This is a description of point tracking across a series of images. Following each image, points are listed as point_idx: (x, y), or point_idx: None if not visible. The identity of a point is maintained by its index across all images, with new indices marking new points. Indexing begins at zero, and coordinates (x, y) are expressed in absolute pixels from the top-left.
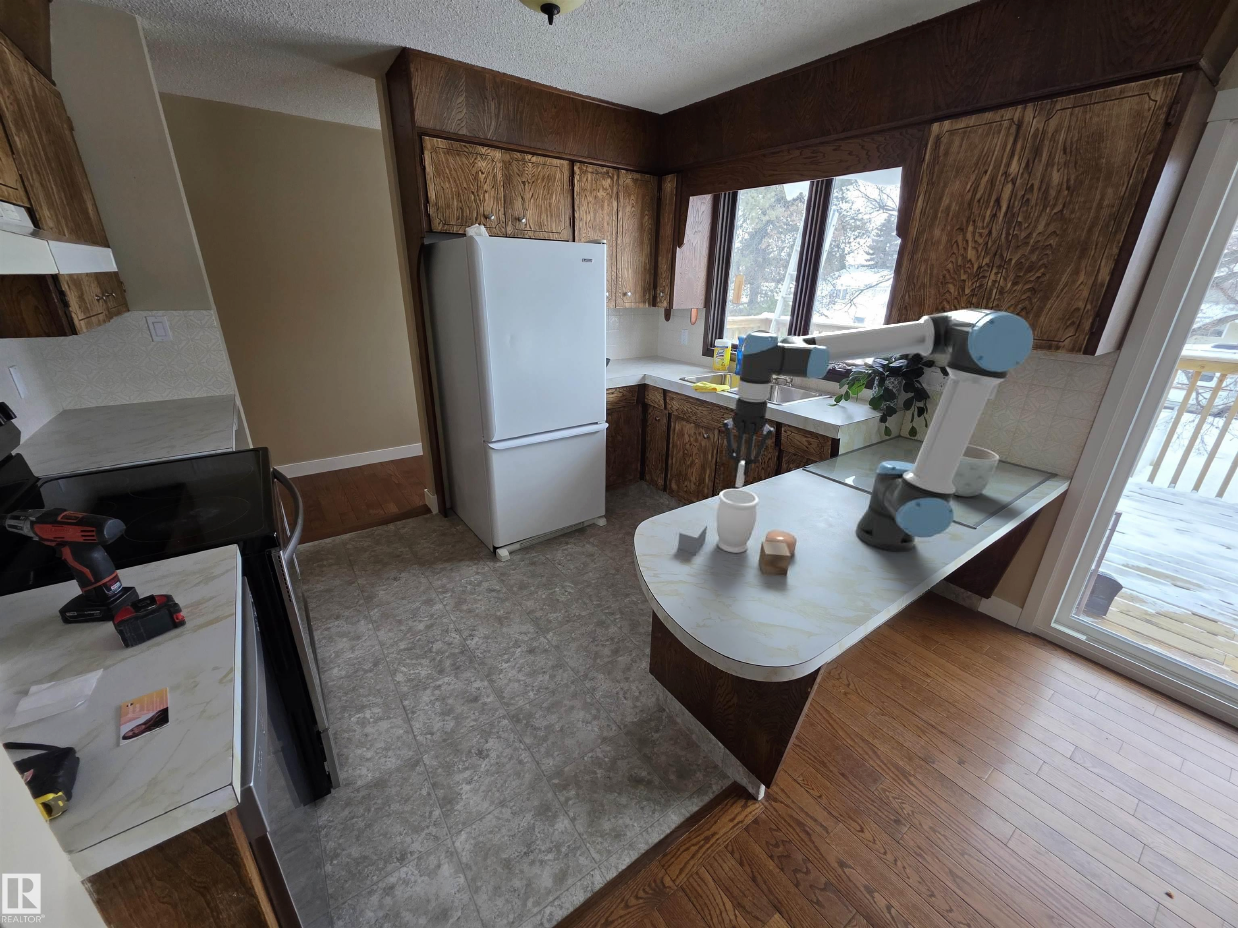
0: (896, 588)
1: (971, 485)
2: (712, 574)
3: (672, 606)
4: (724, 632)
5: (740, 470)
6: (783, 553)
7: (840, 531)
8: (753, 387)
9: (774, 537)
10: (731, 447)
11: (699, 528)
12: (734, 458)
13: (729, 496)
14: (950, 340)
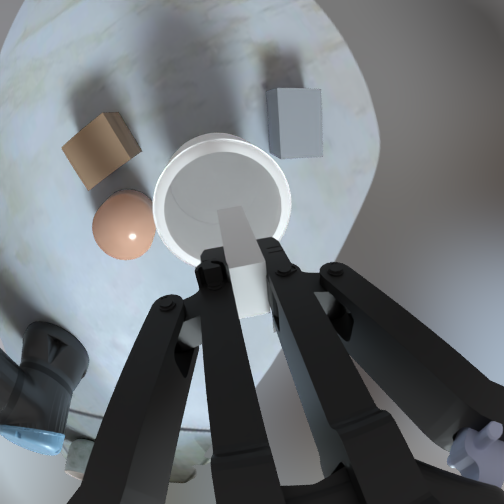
0: None
1: (73, 448)
2: (202, 43)
3: None
4: None
5: (241, 244)
6: (74, 144)
7: (96, 337)
8: None
9: (132, 222)
10: (371, 315)
11: (290, 133)
12: (307, 281)
13: (264, 234)
14: None
